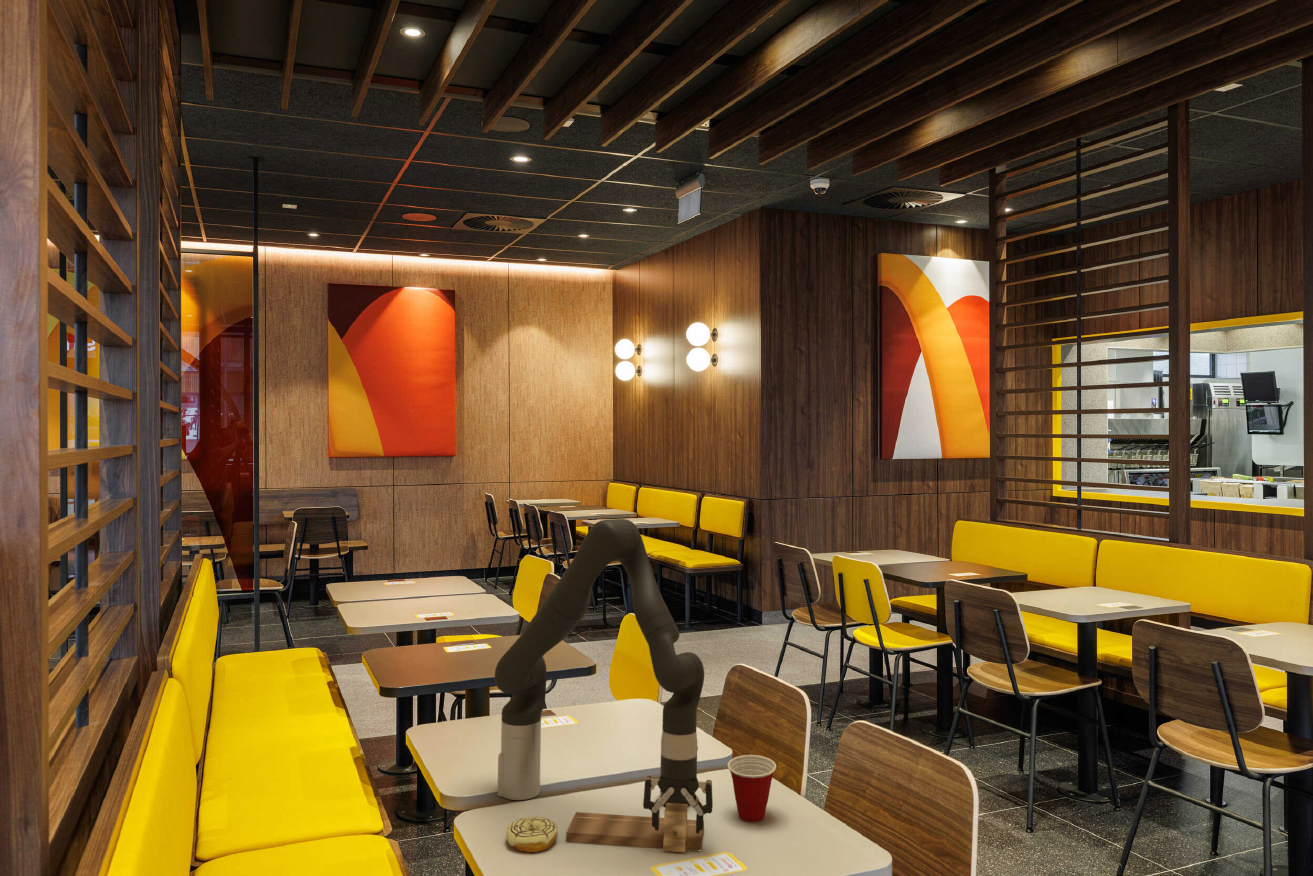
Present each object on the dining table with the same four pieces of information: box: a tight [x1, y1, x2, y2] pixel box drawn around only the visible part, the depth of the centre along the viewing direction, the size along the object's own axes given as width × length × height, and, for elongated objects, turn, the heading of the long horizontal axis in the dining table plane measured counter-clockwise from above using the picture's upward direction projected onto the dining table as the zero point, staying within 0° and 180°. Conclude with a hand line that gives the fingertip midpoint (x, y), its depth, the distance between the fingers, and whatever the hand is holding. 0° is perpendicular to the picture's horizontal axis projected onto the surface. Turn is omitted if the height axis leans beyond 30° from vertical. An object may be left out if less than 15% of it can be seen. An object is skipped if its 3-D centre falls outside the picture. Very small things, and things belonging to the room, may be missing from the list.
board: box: [565, 811, 705, 851], centre depth 187 cm, size 28×10×2 cm, turn 84°
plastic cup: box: [727, 754, 777, 823], centre depth 198 cm, size 11×11×12 cm
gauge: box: [663, 803, 689, 853], centre depth 185 cm, size 4×10×8 cm, turn 174°
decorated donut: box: [505, 816, 559, 853], centre depth 184 cm, size 10×11×4 cm
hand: (677, 830), depth 183 cm, fingers open, 8 cm apart
